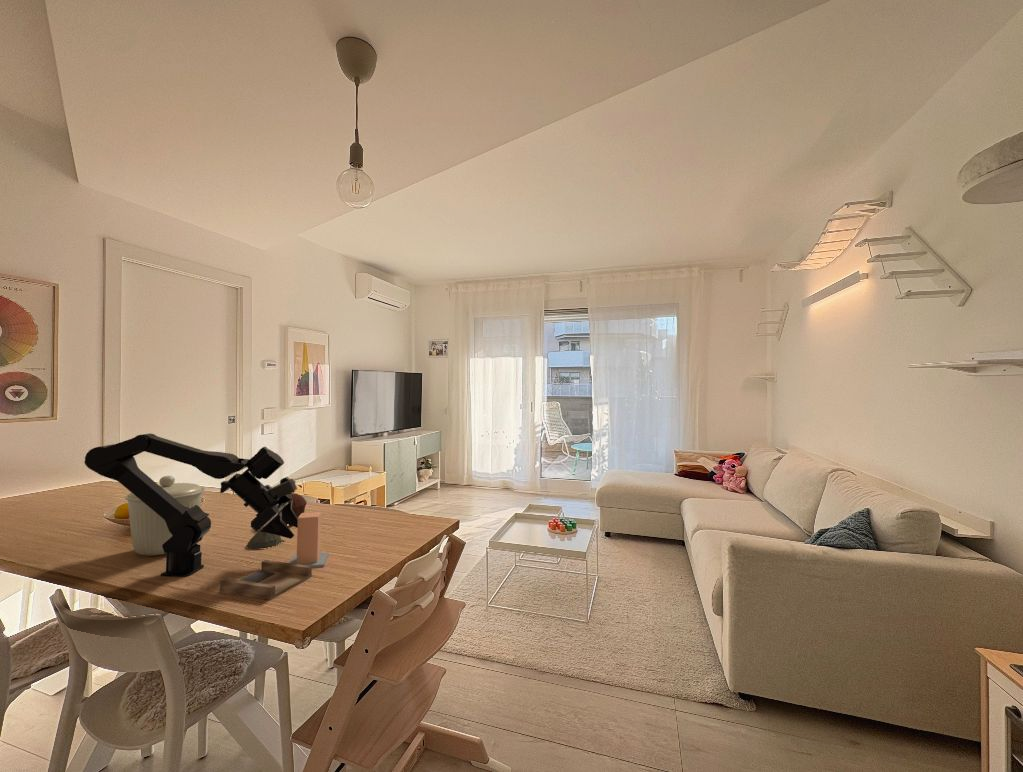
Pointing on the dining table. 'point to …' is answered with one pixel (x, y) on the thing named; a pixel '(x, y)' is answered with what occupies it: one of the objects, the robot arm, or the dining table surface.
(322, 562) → the slate mat
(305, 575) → the walnut channel
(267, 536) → the sword in stone
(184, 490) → the canister
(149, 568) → the dining table surface
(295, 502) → the muffin
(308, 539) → the terracotta block
